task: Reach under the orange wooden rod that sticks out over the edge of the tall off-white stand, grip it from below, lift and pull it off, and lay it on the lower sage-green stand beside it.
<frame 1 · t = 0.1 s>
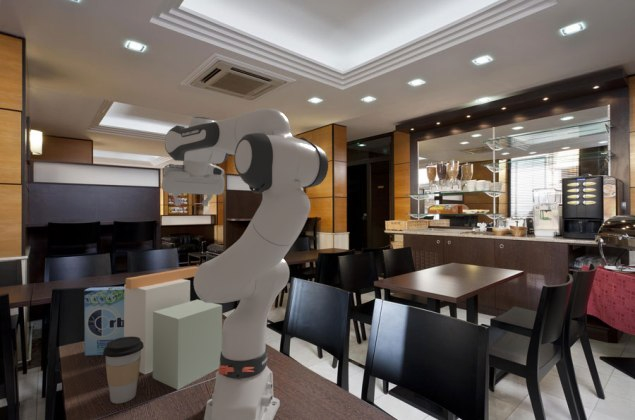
hand: (191, 205, 114), 52 cm above the table, tool tilted 20°, fingers open, 8 cm apart
gum box: (117, 352, 117), on the table
orange rod: (166, 281, 114), point 26 cm above the table, touching tall stand
tall stand: (157, 359, 111), on the table
low stand: (188, 372, 103), on the table
coffee cup: (123, 398, 89), on the table
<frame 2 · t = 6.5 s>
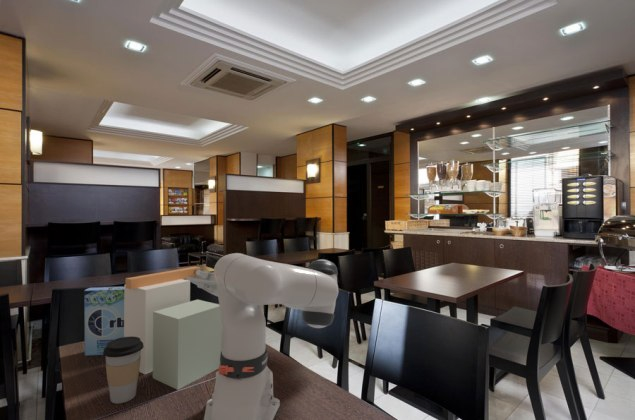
hand: (191, 270, 122), 28 cm above the table, tool pointing upward, fingers closed on orange rod, 3 cm apart
orange rod: (166, 281, 114), point 26 cm above the table, touching gripper, tall stand
everything else where it was.
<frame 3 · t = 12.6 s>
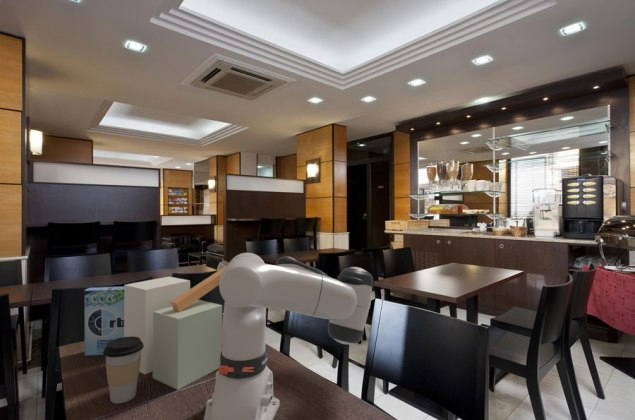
hand: (227, 263, 117), 32 cm above the table, tool pointing upward, fingers closed on orange rod, 3 cm apart
orange rod: (209, 288, 110), point 24 cm above the table, tilted 20°, touching gripper
everything else where it was.
when the fingers open (24 cm above the table, at t = 15.6 s): orange rod stays where it is, resting on low stand.
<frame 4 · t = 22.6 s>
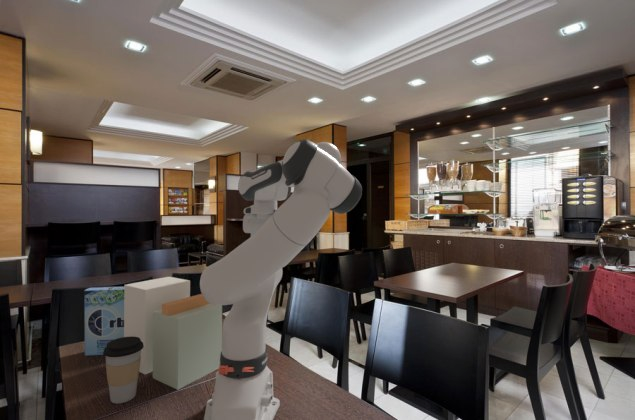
hand: (265, 246, 126), 37 cm above the table, tool pointing down, fingers open, 8 cm apart
orange rod: (201, 304, 107), point 20 cm above the table, touching low stand
everything else where it was.
at the end: orange rod inside the target area on the low stand (2.0 cm from its centre), point 20.0 cm above the low stand's base; orange rod tilted 0°; the gripper is holding nothing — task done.
